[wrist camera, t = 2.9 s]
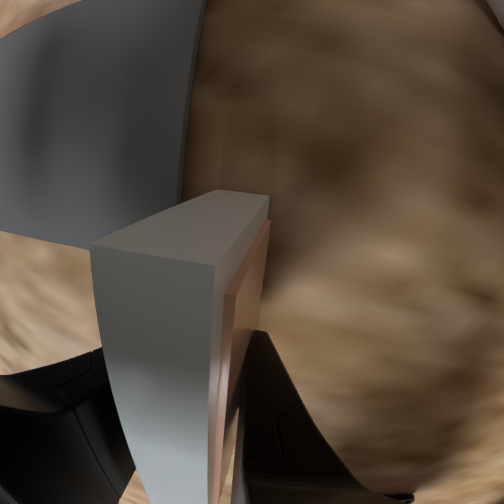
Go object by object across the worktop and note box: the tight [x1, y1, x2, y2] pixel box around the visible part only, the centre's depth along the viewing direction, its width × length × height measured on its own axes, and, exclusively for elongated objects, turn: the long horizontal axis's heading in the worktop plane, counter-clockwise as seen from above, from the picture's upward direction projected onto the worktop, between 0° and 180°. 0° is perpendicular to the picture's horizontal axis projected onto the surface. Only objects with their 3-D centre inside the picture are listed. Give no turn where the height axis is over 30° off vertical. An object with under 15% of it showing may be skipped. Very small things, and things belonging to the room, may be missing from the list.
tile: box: [90, 189, 271, 504], centre depth 7 cm, size 8×2×6 cm, turn 174°
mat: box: [0, 0, 207, 250], centre depth 9 cm, size 10×14×1 cm
